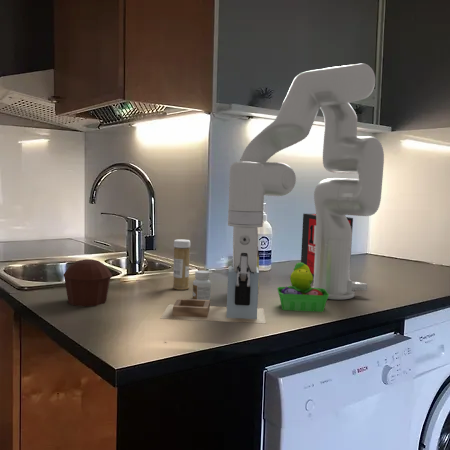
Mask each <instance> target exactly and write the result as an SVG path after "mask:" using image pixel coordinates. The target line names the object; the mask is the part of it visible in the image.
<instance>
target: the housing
mask: <svg viewBox="0 0 450 450" xmlns="http://www.w3.org/2000/svg"><path fill="white" fill-rule="evenodd" d="M239 271H241V270H239ZM246 272H248V270H247V271H246ZM259 275H260V269H259V270H258V267H257V272H256V273H255V274H254V272H251V270H250V285H249V286H251V288H250V305H248V306H247V305H235V286H237V273H235V272H234V265H233V266H232V265H229V266H228V271H227V293H226V296H227V297H226V307H227V317H226V318H243V319H257V308H259V307H258V304H259V303H258V302H259V301H258V300H259V289H258V283H259V284H260V276H259ZM239 276H240V275H239ZM246 276H247V275H246Z"/></svg>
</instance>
